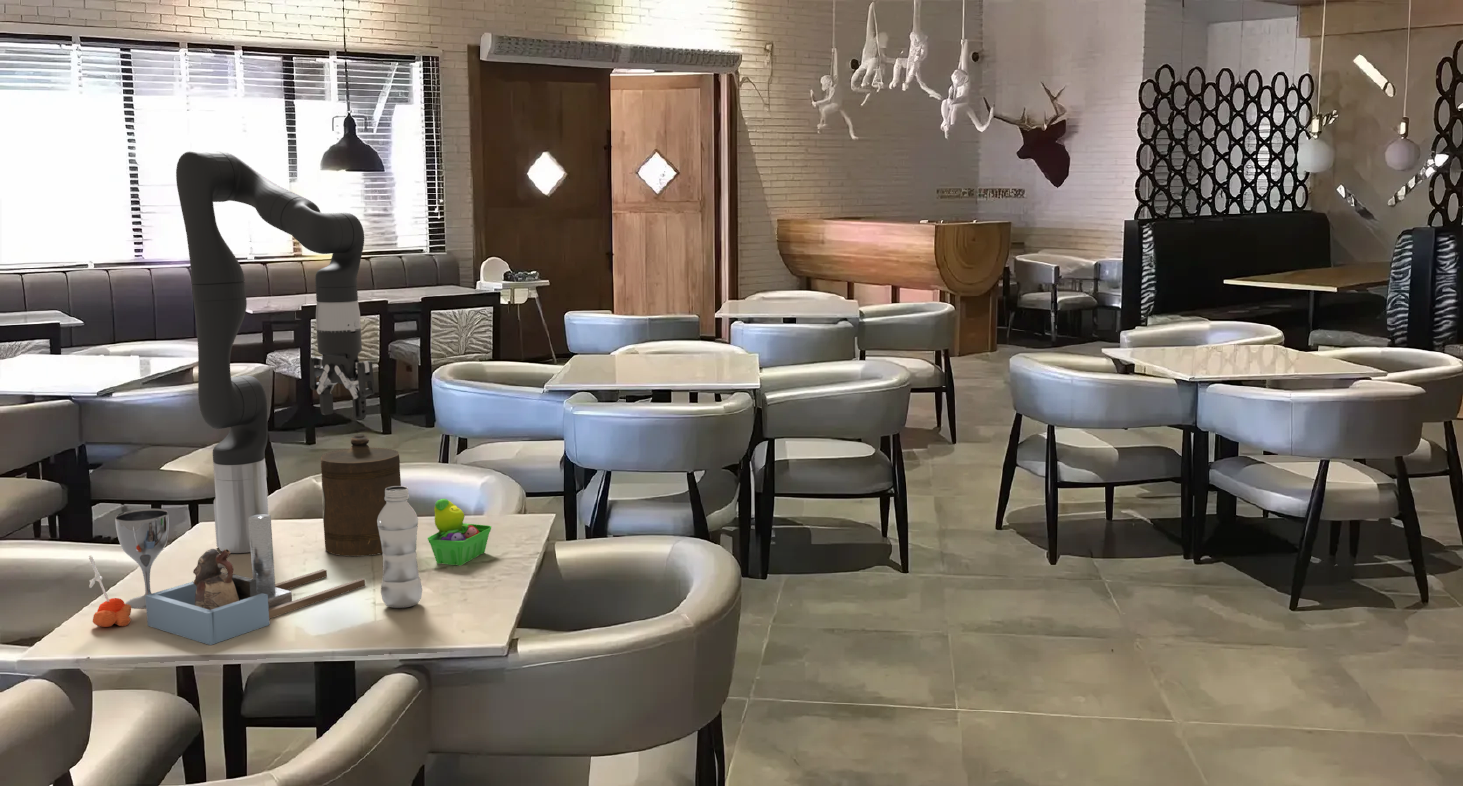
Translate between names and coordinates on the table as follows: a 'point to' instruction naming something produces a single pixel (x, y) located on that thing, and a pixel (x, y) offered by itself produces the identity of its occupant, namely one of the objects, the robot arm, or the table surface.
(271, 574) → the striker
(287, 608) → the lane rails
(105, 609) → the orange lumpy food
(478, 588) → the table surface
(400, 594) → the plastic bottle
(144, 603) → the wine glass
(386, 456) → the wooden container
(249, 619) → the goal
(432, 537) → the fruit basket
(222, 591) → the figurine
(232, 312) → the robot arm
